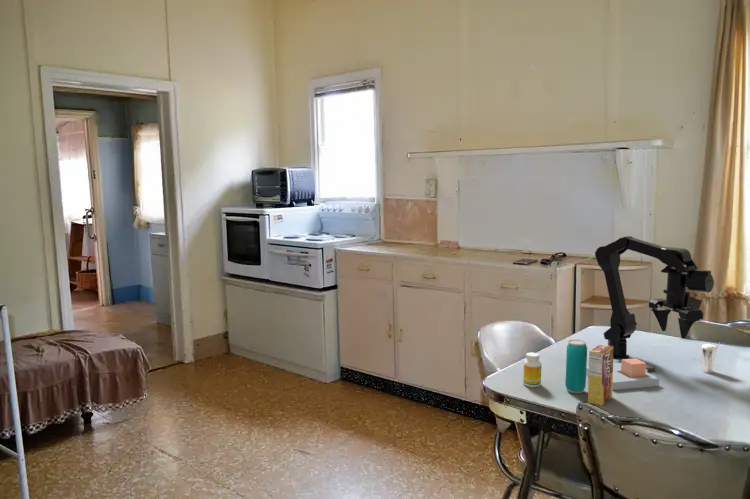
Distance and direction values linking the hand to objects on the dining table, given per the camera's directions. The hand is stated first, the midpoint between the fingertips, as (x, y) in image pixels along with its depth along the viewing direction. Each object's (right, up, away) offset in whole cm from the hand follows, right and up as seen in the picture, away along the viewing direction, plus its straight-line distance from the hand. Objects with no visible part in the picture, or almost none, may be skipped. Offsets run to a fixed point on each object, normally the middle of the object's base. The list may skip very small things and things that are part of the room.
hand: (673, 334), depth 199 cm
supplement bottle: (-49, -14, -12) cm, 52 cm away
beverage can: (-38, -15, -17) cm, 44 cm away
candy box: (-33, -16, -24) cm, 44 cm away
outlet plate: (-21, -13, -7) cm, 25 cm away
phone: (-10, -12, +4) cm, 16 cm away
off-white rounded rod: (-11, -13, -3) cm, 17 cm away
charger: (-17, -13, -9) cm, 23 cm away
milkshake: (+12, -12, 0) cm, 17 cm away
